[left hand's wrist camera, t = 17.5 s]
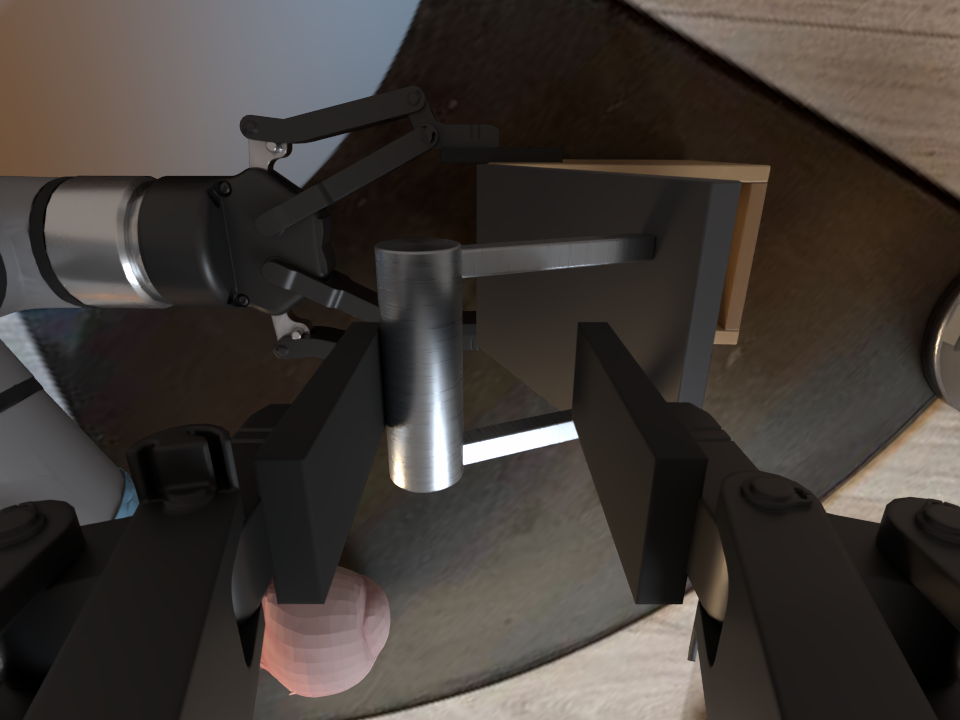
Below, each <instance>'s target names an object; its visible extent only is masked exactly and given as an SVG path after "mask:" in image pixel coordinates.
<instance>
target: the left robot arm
mask: <svg viewBox="0 0 960 720" xmlns="http://www.w3.org/2000/svg"><path fill="white" fill-rule="evenodd" d="M922 362H923V369H924V373H925V376H926V379H927V381H928V383H929V385H930V387H931V388H932V390H933V391H934V393H935V394H936V395H937V396H938V397H939V398H940V399H941V400H942V401H943V402H945V403H946V404H947V405H949V406H951V407H952V408H954V409H956V410H958V411H960V275H959V276H958V277H957V278H956V279H955V280H954V281H953V283H952V284H951V285H950V286H949V288H948V289H947V290H946V291H945V293H944V294H943V296H942V297H941V299H940V300H939V302H938V304H937V305H936V307H935V309H934V311H933V313H932V315H931V317H930V320H929V322H928V325H927V328H926V332H925V335H924V340H923V347H922ZM571 417H572V420H573V423H574V426H575V429H576V432H577V435H578V438H579V441H580V444H581V446H582V449H583V452H584V455H585V458H586V461H587V464H588V467H589V470H590V473H591V476H592V478H593V481H594V484H595V487H596V490H597V493H598V496H599V499H600V502H601V505H602V508H603V511H604V513H605V516H606V519H607V522H608V525H609V528H610V531H611V534H612V537H613V540H614V543H615V546H616V548H617V551H618V554H619V557H620V560H621V563H622V566H623V569H624V572H625V575H626V578H627V581H628V583H629V586H630V589H631V592H632V595H633V598H634V601H635V604H683V598H684V593H685V587H686V582H687V576H688V577H689V579H690V581H691V583H692V585H693V587H694V589H695V592H696V594H697V596H698V598H699V600H698V605H697V610H696V616H695V621H694V626H693V631H692V636H691V642H690V647H689V653H688V660H689V661H694V662H695V659H696V654H697V650H698V653H699V660H700V668H701V675H702V683H703V690H704V697H705V705H706V712H707V720H960V507H959V506H957V505H954V504H951V503H947V502H944V503H943V502H942V501H940V500H935V499H924V498H915V497H906V498H898V499H894V500H893V501H891V502H890V503H889V504H887V505H886V508H885V511H884V514H883V517H882V520H881V523H875V522H870V521H865V520H859V519H854V518H849V517H844V516H838V515H834V514H830V513H826V511H825V509H824V508H823V506H822V504H821V502H820V501H819V500H818V499H817V498H816V496H815V495H814V494H813V493H812V492H811V491H809V490H808V489H806V488H805V487H803V486H802V485H800V484H798V483H797V482H795V481H792V480H790V479H787V478H785V477H782V476H780V475H776V474H772V473H767V472H762V471H759V470H758V469H757V468H756V466H755V465H754V464H753V463H752V462H751V461H750V460H749V458H748V457H747V456H746V455H745V454H744V453H743V452H742V450H741V449H740V448H739V447H738V446H737V445H736V444H735V442H734V441H731V438H730V437H729V436H728V434H727V433H726V432H725V431H724V430H721V426H720V425H719V424H718V423H717V422H716V421H715V419H714V418H713V417H712V416H711V415H710V414H709V413H707V412H706V411H704V410H702V409H700V408H699V407H697V406H695V405H693V404H692V403H690V402H666V400H665V399H664V398H663V396H662V395H661V394H660V392H659V391H658V390H657V388H656V387H655V386H654V384H653V383H652V382H651V380H650V379H649V378H648V376H647V375H646V374H645V372H644V371H643V369H642V368H641V367H640V365H639V364H638V363H637V361H636V360H635V359H634V357H633V356H632V355H631V353H630V352H629V351H628V349H627V348H626V347H625V345H624V344H623V343H622V341H621V340H620V338H619V337H618V336H617V334H616V333H615V332H614V330H613V329H612V328H611V326H610V325H609V324H608V322H578V327H577V342H576V356H575V371H574V385H573V399H572V414H571ZM385 426H386V410H385V395H384V380H383V366H382V351H381V336H380V322H352V324H351V325H350V326H349V328H348V329H347V330H346V332H345V333H344V334H343V336H342V337H341V338H340V340H339V341H338V343H337V344H336V345H335V347H334V348H333V349H332V351H331V352H330V353H329V355H328V356H327V357H326V359H325V360H324V361H323V363H322V364H321V365H320V367H319V368H318V369H317V371H316V372H315V373H314V375H313V376H312V378H311V379H310V380H309V382H308V383H307V384H306V386H305V387H304V388H303V390H302V391H301V392H300V394H299V395H298V396H297V398H296V399H295V400H294V402H293V403H292V404H270V405H268V406H267V407H265V408H263V409H261V410H260V411H258V412H256V413H254V414H253V415H251V416H250V417H249V418H248V419H247V421H246V422H245V423H244V424H243V425H242V426H241V428H240V429H239V432H236V433H235V434H234V436H233V437H232V438H231V439H230V434H229V432H228V431H227V430H225V429H224V428H222V427H221V426H216V425H210V424H189V425H184V426H179V427H173V428H169V429H166V430H163V431H160V432H157V433H154V434H151V435H149V436H148V437H146V438H144V439H142V440H140V441H138V442H136V443H135V444H134V445H133V446H132V447H131V448H130V449H129V450H128V451H126V452H125V453H126V457H127V461H128V464H129V468H130V471H131V475H132V479H133V482H134V486H135V489H136V493H137V497H138V500H139V505H138V507H137V509H136V510H135V512H134V514H133V516H129V517H125V518H119V519H114V520H109V521H103V522H98V523H93V524H88V525H82V526H80V523H79V520H78V517H77V514H76V511H75V508H74V507H73V506H71V505H70V504H69V503H67V502H66V501H58V500H42V501H29V502H24V503H19V505H12V506H9V507H6V508H4V509H2V510H0V720H253V714H254V706H255V699H256V691H257V684H258V677H259V669H260V662H261V654H262V647H263V639H264V632H265V625H266V624H265V617H264V610H263V605H262V599H263V596H264V594H265V592H266V590H267V588H268V586H269V584H270V582H271V580H272V578H273V582H274V587H275V593H276V598H277V604H325V601H326V598H327V595H328V592H329V589H330V586H331V583H332V580H333V578H334V575H335V572H336V569H337V566H338V563H339V560H340V557H341V554H342V551H343V548H344V546H345V543H346V540H347V537H348V534H349V531H350V528H351V525H352V522H353V519H354V516H355V513H356V511H357V508H358V505H359V502H360V499H361V496H362V493H363V490H364V487H365V484H366V481H367V478H368V476H369V473H370V470H371V467H372V464H373V461H374V458H375V455H376V452H377V449H378V446H379V443H380V441H381V438H382V435H383V432H384V429H385Z"/></svg>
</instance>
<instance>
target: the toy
mask: <svg viewBox="0 0 960 720" xmlns="http://www.w3.org/2000/svg"><path fill="white" fill-rule="evenodd" d="M262 605H263V610H264V617H265V624H266V625H265V632H264V639H263V647H262V654H261V662H260V666H261V667H260V668H264V669H266V670H267V671H268V672H270V673H271V674H272V675H273V676H274V677H276V678H277V679H278V680H279V682H281V683H282V684H283V685H284V686H285V687H286V688H287V689H288V690H290V691H292V692H291V693H290V694H289V695H292V694H299V695H301V696H307V697H321V696H327V695H332V694H336V693H339V692H342V691H345V690H347V689H349V688H351V687H353V686H354V685H356V684H357V683H359V682H360V681H361V680H362V679H363V678H364V677H365V676H366V675H367V674H368V672H369V671H370V670H371V668H372V666H373V664H374V662H375V660H376V658H377V656H378V654H379V653H380V651H381V649H383V647H384V645H385V643H386V640H387V638H388V634H389V628H390V609H389V603H388V599H387V597H386V595H385V593H384V592H383V590H382V589H381V587H380V586H379V585H378V584H377V583H376V582H375V581H374V580H373V579H372V578H370V577H368V576H365V575H361V574H358V573H356V572H354V571H352V570H349V569H346V568H343V567H339V566H337V569H336V572H335V575H334V578H333V580H332V583H331V586H330V589H329V592H328V595H327V598H326V601H325V604H277V598H276V593H275V587H274V582H273V578H272V580H271V582H270V584H269V586H268V588H267V590H266V592H265V594H264V596H263V599H262Z"/></svg>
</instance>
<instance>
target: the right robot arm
mask: <svg viewBox="0 0 960 720" xmlns="http://www.w3.org/2000/svg"><path fill="white" fill-rule="evenodd" d="M407 117H409V118H410V121H411V124H412V126H413V129H414V130H413V131H411V132H409V133H407V134H405V135H404V136H402V137H400V138H398V139H397V140H395V141H393V142H391V143H389V144H388V145H386V146H384V147H382V148H381V149H379V150H377V151H375V152H373V153H372V154H370V155H368V156H366V157H365V158H363V159H361V160H359V161H358V162H356V163H354V164H352V165H350V166H349V167H347V168H345V169H343V170H342V171H340V172H338V173H336V174H334V175H333V176H331V177H329V178H327V179H326V180H324V181H322V182H320V183H317V184H315V185H313V186H312V187H310V188H308V189H306V190H305V191H304V190H302V189H301V188H299V187H298V186H296V185H295V184H293V183H292V182H291V181H289V180H288V179H286V178H285V177H283V176H282V175H281V174H279V173H278V172H276V171H275V170H273V166H274V163H275V162H276V161H277V160H278V159H280V158H285V157H288V156H289V155H290V154H291V152H292V143H294V144H298V143H308V142H314V141H317V140H321V139H325V138H329V137H333V136H337V135H341V134H345V133H348V132H352V131H356V130H360V129H364V128H368V127H372V126H376V125H380V124H383V123H387V122H391V121H395V120H399V119H403V118H407ZM240 130H241V132H242V134H243V135H244V136H245V137H246V138H248V139H249V164H250V168H248V169H246V170H244V171H243V172H241V173H240V174H237V175H235V176H164V177H161V178H159V179H156V178H153V177H151V176H76V177H61V178H59V177H21V176H0V317H2V316H5V315H7V314H10V313H13V312H16V311H21V310H27V309H36V308H84V307H85V308H168V307H171V306H173V305H174V306H176V307H179V308H253V309H257V310H259V311H261V312H263V313H265V314H268V315H271V317H272V320H273V324H274V328H275V332H276V335H277V339H278V341H277V342H276V343H275V344H274V346H273V352H274V354H275V356H277V357H278V358H280V359H293V358H302V357H311V356H313V357H317V358H322V359H326V357H327V356H328V355H329V353H330V352H331V351H332V349H333V348H334V347H335V345H336V344H337V343H338V341H339V340H340V338H341V337H342V336H343V334H344V333H345V332H346V331H345V330H341V329H336V328H331V327H325V326H313V325H312V323H311V322H310V321H309V320H307V319H304V318H299V317H297V316H295V315H294V313H293V312H292V308H294V307H295V306H296V305H298V304H299V303H300V302H301V301H303V300H304V299H305V298H308V299H310V300H312V301H314V302H317V303H319V304H321V305H323V306H325V307H329V308H336V309H339V310H341V311H343V312H345V313H347V314H350V315H352V316H354V317H356V318H358V319H360V320H362V321H365V322H380V321H379V306H378V293H376V292H374V291H372V290H370V289H368V288H366V287H364V286H362V285H360V284H358V283H356V282H354V281H352V280H351V279H350V278H349V277H348V276H346V275H344V274H342V273H340V272H338V271H336V270H334V269H333V268H335V267H336V263H335V254H334V251H333V248H332V245H331V243H330V237H331V231H332V222H331V215H328V213H327V211H326V208H328V207H329V206H331V205H333V204H335V203H337V202H338V201H340V200H342V199H343V198H345V197H347V196H349V195H350V194H352V193H354V192H356V191H358V190H360V189H361V188H363V187H365V186H367V185H369V184H370V183H372V182H374V181H376V180H378V179H379V178H381V177H383V176H385V175H387V174H388V173H390V172H392V171H394V170H396V169H397V168H399V167H401V166H403V165H405V164H407V163H408V162H410V161H412V160H414V159H416V158H417V157H419V156H421V155H423V154H425V153H426V152H428V151H430V150H432V149H440V152H441V163H489V162H536V163H562V160H563V148H499V128H497V127H495V126H492V125H490V124H442V123H440V122H438V121H437V120H436V118H435V117H434V114H433V112H432V109H431V106H430V103H429V99H428V97H427V95H426V94H425V93H424V92H423V91H422V90H421V89H420V88H419V87H417V86H408V87H405V88H401V89H397V90H393V91H389V92H385V93H382V94H378V95H374V96H370V97H366V98H363V99H359V100H355V101H351V102H347V103H344V104H340V105H336V106H332V107H328V108H324V109H321V110H317V111H313V112H309V113H305V114H301V115H298V116H294V117H290V118H286V119H278V118H270V117H263V116H255V115H246V116H245V117H243V118H242V120H241V121H240ZM462 350H482V349H481V348H480V347H479V346H477V344H476V311H462ZM42 500H58V501H66V502H67V503H69V504H70V505H71V506H73V507H74V508H75V511H76V514H77V517H78V520H79V523H80V526H82V525H88V524H93V523H98V522H103V521H109V520H114V519H119V518H125V517H129V516H133V514H134V512H135V510H136V509H137V507H138V505H139V500H138V497H137V493H136V489H135V486H134V483H133V482H132V480H131V478H130V476H129V474H128V473H127V472H125V471H124V470H123V469H122V468H118V467H117V466H116V465H115V464H114V463H113V462H112V461H111V460H110V459H109V458H108V457H107V456H106V455H105V454H104V453H103V452H102V451H101V449H100V448H99V447H98V446H97V445H96V444H95V443H94V442H93V441H92V440H91V439H90V438H89V437H88V436H87V435H86V434H85V433H84V432H83V431H82V429H81V428H80V427H79V426H78V425H77V424H76V423H75V422H74V421H73V420H72V419H71V418H70V417H69V416H68V415H67V414H66V413H65V412H64V411H63V409H62V408H61V407H60V406H59V405H58V404H57V403H56V402H55V401H54V400H53V399H52V398H51V397H50V396H49V395H48V394H47V393H46V392H45V391H44V389H43V387H42V385H41V384H40V383H39V382H38V381H37V380H36V379H35V378H34V376H33V375H32V374H31V372H30V371H29V370H28V369H27V368H26V367H25V366H24V365H23V364H22V362H21V361H20V360H19V359H18V358H17V357H16V356H15V355H14V354H13V353H12V351H11V350H10V349H9V348H8V347H7V346H6V345H5V344H4V343H3V341H2V340H1V339H0V510H2V509H4V508H6V507H9V506H12V505H19V503H24V502H29V501H42Z"/></svg>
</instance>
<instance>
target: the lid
mask: <svg viewBox="0 0 960 720" xmlns="http://www.w3.org/2000/svg"><path fill="white" fill-rule="evenodd" d="M741 185H742V184H741V182H740V181H739V180H725V179H710V178H695V177H680V176H665V175H650V174H635V173H620V172H605V171H590V170H575V169H560V168H546V167H531V166H516V165H501V164H478V165H477V244H471V245H461V244H460V243H459V242H456V241H453V240H449V239H442V238H400V239H392V240H386V241H382V242H380V243H377V244H376V245H375V262H376V277H377V292H378V306H379V321H380V336H381V351H382V366H383V380H384V395H385V410H386V425H387V440H388V455H389V469H390V477H391V479H392V480H393V482H394V483H395V484H396V485H397V486H399V487H400V488H402V489H405V490H408V491H412V492H419V493H428V492H436V491H440V490H443V489H446V488H448V487H450V486H452V485H454V484H455V483H456V482H457V481H458V480H459V479H460V478H461V476H462V474H463V465H467V464H471V463H475V462H480V461H484V460H488V459H492V458H497V457H501V456H505V455H509V454H514V453H518V452H522V451H526V450H531V449H535V448H539V447H543V446H548V445H552V444H556V443H560V442H565V441H569V440H573V439H578V435H577V432H576V429H575V426H574V423H573V420H572V417H571V414H572V399H573V385H574V371H575V356H576V342H577V327H578V322H608V324H609V325H610V326H611V328H612V329H613V330H614V332H615V333H616V334H617V336H618V337H619V338H620V340H621V341H622V343H623V344H624V345H625V347H626V348H627V349H628V351H629V352H630V353H631V355H632V356H633V357H634V359H635V360H636V361H637V363H638V364H639V365H640V367H641V368H642V369H643V371H644V372H645V374H646V375H647V376H648V378H649V379H650V380H651V382H652V383H653V384H654V386H655V387H656V388H657V390H658V391H659V392H660V394H661V395H662V396H663V398H664V399H665V400H666V402H690V403H692V404H693V405H695V406H697V407H699V408H700V409H702V407H703V401H704V396H705V390H706V384H707V378H708V373H709V367H710V361H711V356H712V350H713V344H714V339H715V333H716V327H717V321H718V316H719V310H720V304H721V299H722V293H723V287H724V282H725V276H726V270H727V264H728V259H729V253H730V247H731V242H732V236H733V230H734V224H735V219H736V213H737V207H738V202H739V196H740V190H741ZM469 277H476V344H477V346H479V347H480V348H481V349H482V350H484V351H485V352H486V353H487V354H489V355H490V356H491V357H492V358H494V359H495V360H496V361H498V362H499V363H500V364H501V365H503V366H504V367H505V368H506V369H508V370H509V371H510V372H511V373H513V374H514V375H515V376H516V377H518V378H519V379H520V380H521V381H523V382H524V383H525V384H526V385H528V386H529V387H530V388H531V389H533V390H534V391H535V392H537V393H538V394H539V395H540V396H542V397H543V398H544V399H545V400H547V401H548V402H549V403H550V404H552V405H553V406H554V407H555V408H557V409H558V410H559V411H558V412H554V413H549V414H544V415H539V416H535V417H530V418H525V419H520V420H515V421H511V422H506V423H501V424H496V425H492V426H487V427H482V428H477V429H472V430H468V431H463V350H462V278H469Z"/></svg>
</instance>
